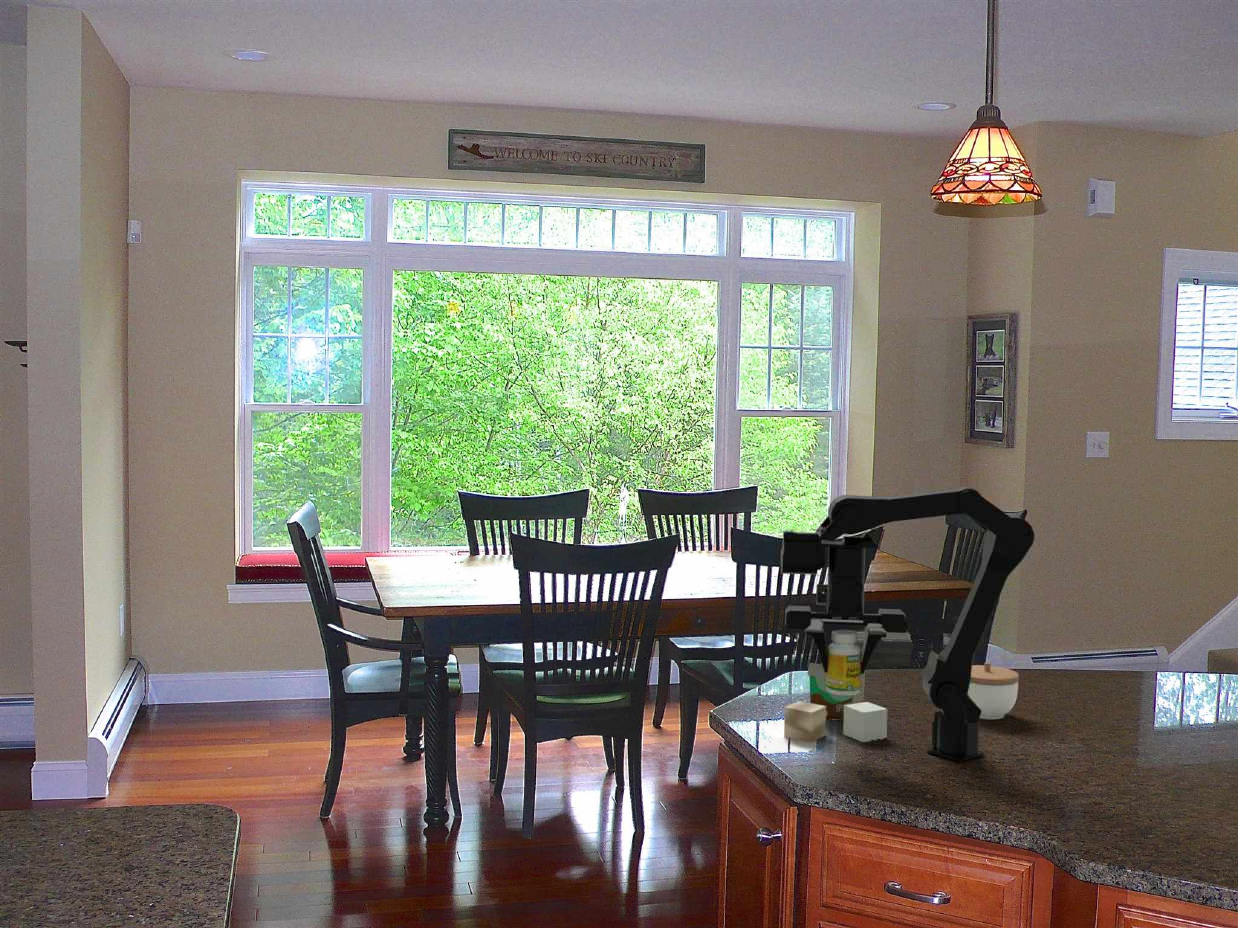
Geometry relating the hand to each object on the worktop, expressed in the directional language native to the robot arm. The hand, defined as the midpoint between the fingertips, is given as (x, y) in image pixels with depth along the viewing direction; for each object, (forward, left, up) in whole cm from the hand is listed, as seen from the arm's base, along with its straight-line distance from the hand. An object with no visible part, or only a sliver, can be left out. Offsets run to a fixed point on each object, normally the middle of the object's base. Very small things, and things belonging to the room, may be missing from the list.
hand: (843, 672), depth 185 cm
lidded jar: (-1, -37, -13) cm, 39 cm away
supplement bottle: (0, 0, -3) cm, 3 cm away
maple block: (+9, -1, -13) cm, 16 cm away
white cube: (+3, -9, -13) cm, 16 cm away
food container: (+14, -15, -13) cm, 24 cm away
